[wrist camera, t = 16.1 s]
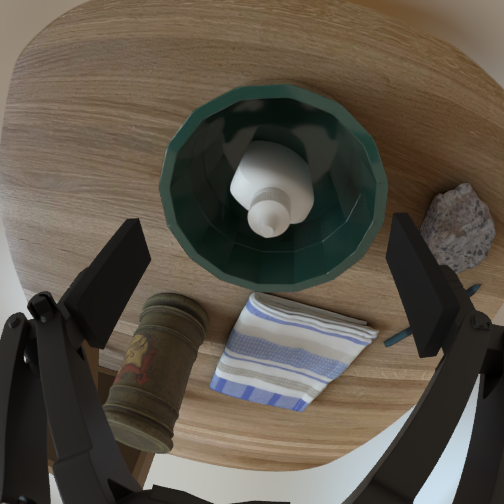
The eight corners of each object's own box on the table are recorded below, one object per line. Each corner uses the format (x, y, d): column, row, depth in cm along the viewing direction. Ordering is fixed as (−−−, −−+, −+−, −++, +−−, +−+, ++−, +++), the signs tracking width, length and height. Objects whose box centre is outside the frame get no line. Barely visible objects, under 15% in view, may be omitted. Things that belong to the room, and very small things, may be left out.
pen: (480, 283, 31) (483, 289, 30) (386, 343, 39) (387, 350, 38) (478, 278, 31) (482, 284, 30) (382, 340, 38) (384, 346, 37)
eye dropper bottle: (275, 198, 28) (265, 284, 18) (236, 151, 26) (201, 214, 16) (315, 173, 26) (330, 249, 16) (277, 122, 24) (268, 167, 14)
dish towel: (381, 321, 36) (385, 338, 34) (302, 403, 49) (302, 417, 47) (252, 282, 34) (249, 299, 32) (207, 380, 48) (204, 394, 46)
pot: (186, 87, 23) (141, 101, 16) (359, 80, 21) (394, 88, 14) (208, 232, 31) (184, 290, 24) (353, 231, 29) (371, 291, 22)
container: (219, 310, 38) (184, 446, 23) (196, 346, 43) (163, 460, 28) (153, 280, 36) (91, 407, 21) (139, 320, 41) (90, 430, 26)
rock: (402, 261, 31) (412, 285, 27) (437, 170, 24) (455, 186, 21) (461, 272, 30) (474, 294, 27) (497, 192, 24) (517, 209, 21)
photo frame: (175, 396, 53) (143, 513, 33) (80, 369, 54) (36, 466, 34) (166, 353, 45) (117, 501, 24) (56, 322, 46) (-7, 436, 25)
